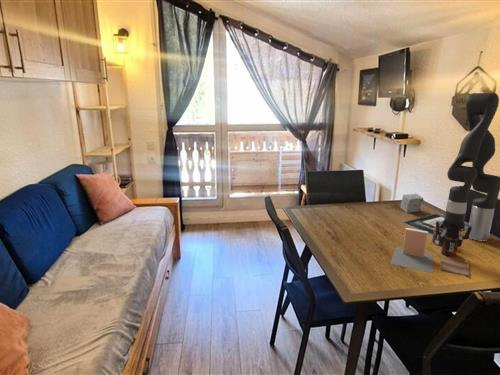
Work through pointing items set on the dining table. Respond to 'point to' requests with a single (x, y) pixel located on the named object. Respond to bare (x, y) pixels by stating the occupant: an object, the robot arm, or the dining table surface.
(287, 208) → the dining table surface
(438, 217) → the dark picture frame
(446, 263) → the rest board
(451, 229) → the deodorant
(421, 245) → the tile
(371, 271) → the dining table surface
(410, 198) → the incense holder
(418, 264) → the mat
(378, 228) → the dining table surface
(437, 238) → the supplement bottle
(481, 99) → the robot arm
